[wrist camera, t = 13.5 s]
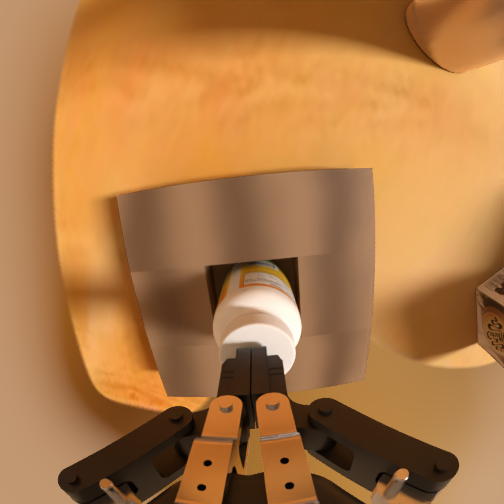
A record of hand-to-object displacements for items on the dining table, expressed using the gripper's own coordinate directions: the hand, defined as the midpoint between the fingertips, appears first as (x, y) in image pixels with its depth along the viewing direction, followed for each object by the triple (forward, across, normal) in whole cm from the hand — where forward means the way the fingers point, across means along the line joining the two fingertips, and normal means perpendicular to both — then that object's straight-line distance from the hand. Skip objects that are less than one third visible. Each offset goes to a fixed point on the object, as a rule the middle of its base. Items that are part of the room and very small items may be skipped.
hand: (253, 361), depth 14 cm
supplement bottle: (+10, 0, 0) cm, 10 cm away
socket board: (+11, 0, 0) cm, 11 cm away
